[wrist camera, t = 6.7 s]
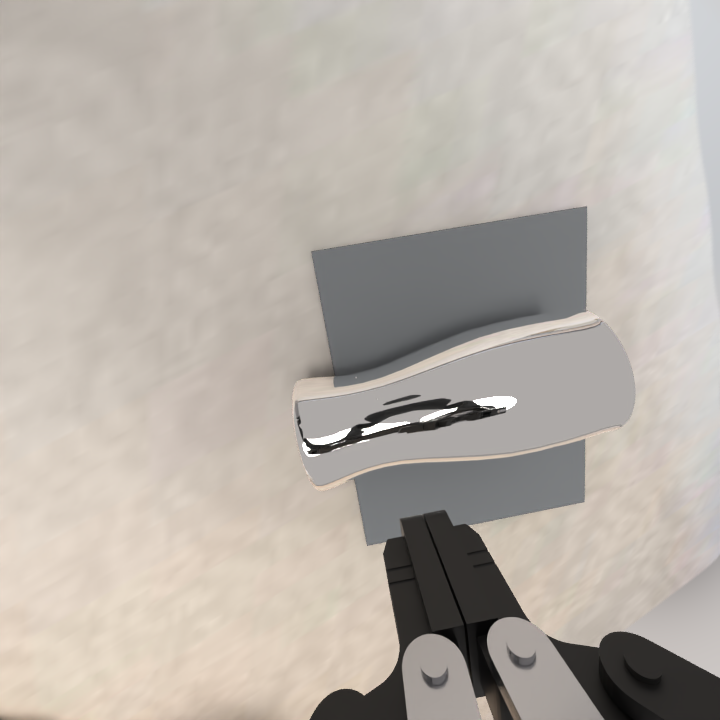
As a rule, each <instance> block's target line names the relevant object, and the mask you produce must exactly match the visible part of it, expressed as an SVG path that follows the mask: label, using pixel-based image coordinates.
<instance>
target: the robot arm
mask: <svg viewBox="0 0 720 720" xmlns="http://www.w3.org/2000/svg"><path fill="white" fill-rule="evenodd" d="M400 527H401V534H402V536H401V537H396V538H391V539H387V542H386V546H385V550H384V553H383V555H384V561H385V567H386V572H387V578H388V584H389V590H390V595H391V601H392V606H393V612H394V617H395V622H396V628H397V633H398V639H399V644H400V652H399V658H398V661H397V664H396V666H395V668H394V670H393V672H392V673H391V675H390V676H389V677H388V678H387V679H386V680H385V681H384V682H383V683H382V684H381V685H379V686H378V687H376V688H375V689H373V690H372V691H370V692H369V693H368V694H366V695H365V696H364V695H362V694H361V693H359V692H358V691H355V690H352V689H341V690H337V691H335V692H333V693H331V694H329V695H328V696H327V697H326V698H324V699H323V700H322V702H321V703H320V704H319V705H318V707H317V708H316V710H315V711H314V713H313V715H312V716H311V718H310V720H482V719H481V715H480V712H479V708H478V704H477V701H476V698H478V697H482V696H486V699H487V702H488V704H489V707H490V710H491V713H492V715H493V718H494V720H720V678H719V677H716V676H715V675H713V674H711V673H709V672H707V671H706V670H704V669H702V668H699V667H698V666H696V665H694V664H692V663H690V662H689V661H687V660H685V659H683V658H681V657H679V656H677V655H676V654H674V653H672V652H670V651H668V650H666V649H664V648H663V647H661V646H659V645H657V644H655V643H653V642H651V641H649V640H647V639H645V638H643V637H641V636H638V635H636V634H632V633H628V632H613V633H610V634H608V635H606V636H605V637H604V638H603V639H602V641H601V643H600V647H599V648H597V647H590V646H583V645H577V644H570V643H565V642H561V641H558V640H556V639H554V638H551V637H549V636H548V635H546V634H545V633H544V632H543V631H542V630H541V629H539V628H538V627H537V626H536V625H534V624H532V623H531V622H530V621H529V619H528V618H527V617H526V615H525V614H524V612H523V610H522V609H521V607H520V605H519V604H518V602H517V600H516V598H515V597H514V595H513V593H512V591H511V590H510V588H509V586H508V584H507V583H506V581H505V579H504V577H503V576H502V574H501V572H500V570H499V569H498V567H497V565H495V562H494V560H493V558H492V556H491V555H490V553H489V552H488V550H487V548H486V546H485V544H484V542H483V541H482V539H481V537H480V535H479V534H478V533H476V532H475V531H474V530H473V529H472V528H470V527H469V526H468V525H467V524H461V525H456V526H453V524H452V522H451V520H450V518H449V516H448V514H447V512H446V511H445V510H439V511H434V512H429V513H424V514H423V515H421V514H420V515H414V516H409V517H404V518H400Z"/></svg>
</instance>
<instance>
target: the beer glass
mask: <svg viewBox="0 0 720 720" xmlns="http://www.w3.org/2000/svg"><path fill="white" fill-rule="evenodd" d="M634 404H635V382H634V376H633V371H632V368H631V365H630V362H629V359H628V356H627V354H626V352H625V350H624V348H623V346H622V344H621V342H620V341H619V339H618V337H617V336H616V335H615V333H614V332H613V331H612V329H611V328H610V327H609V326H608V325H607V324H606V323H605V322H604V321H603V320H602V319H601V318H600V317H598V316H597V315H595V314H594V313H592V312H590V311H588V310H585V309H582V308H569V309H566V310H562V311H556V312H550V313H544V314H537V315H531V316H526V317H520V318H515V319H510V320H505V321H501V322H496V323H492V324H488V325H485V326H481V327H477V328H474V329H470V330H467V331H464V332H461V333H459V334H456V335H453V336H451V337H448V338H445V339H443V340H440V341H438V342H436V343H433V344H431V345H429V346H426V347H424V348H422V349H419V350H417V351H415V352H413V353H410V354H408V355H406V356H404V357H401V358H399V359H397V360H394V361H392V362H389V363H387V364H384V365H382V366H379V367H376V368H373V369H370V370H367V371H363V372H359V373H354V374H349V375H341V376H329V377H313V378H304V379H300V380H298V381H297V382H296V384H295V386H294V389H293V394H292V415H293V425H294V432H295V437H296V442H297V446H298V451H299V454H300V458H301V461H302V464H303V467H304V470H305V472H306V474H307V477H308V479H309V480H310V482H311V484H312V485H313V487H314V488H315V489H317V490H318V491H326V490H329V489H332V488H334V487H337V486H339V485H341V484H344V483H346V482H348V481H351V480H353V479H355V478H357V477H360V476H363V475H365V474H368V473H371V472H374V471H378V470H382V469H386V468H392V467H398V466H405V465H419V464H438V463H460V462H478V461H488V460H498V459H507V458H512V457H518V456H523V455H528V454H533V453H537V452H541V451H545V450H549V449H553V448H557V447H560V446H564V445H567V444H570V443H573V442H577V441H580V440H583V439H586V438H589V437H592V436H595V435H598V434H601V433H605V432H608V431H614V430H617V429H619V428H621V427H623V426H624V425H625V424H626V423H627V421H628V420H629V418H630V417H631V414H632V412H633V409H634Z"/></svg>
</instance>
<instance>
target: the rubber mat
mask: <svg viewBox="0 0 720 720" xmlns="http://www.w3.org/2000/svg"><path fill="white" fill-rule="evenodd" d="M312 258H313V263H314V268H315V273H316V279H317V284H318V289H319V295H320V300H321V305H322V310H323V316H324V321H325V326H326V331H327V337H328V342H329V347H330V352H331V358H332V363H333V368H334V374H335V376H341V375H349V374H354V373H359V372H363V371H367V370H370V369H373V368H376V367H379V366H382V365H384V364H387V363H389V362H392V361H394V360H397V359H399V358H401V357H404V356H406V355H408V354H410V353H413V352H415V351H417V350H419V349H422V348H424V347H426V346H429V345H431V344H433V343H436V342H438V341H440V340H443V339H445V338H448V337H451V336H453V335H456V334H459V333H461V332H464V331H467V330H470V329H474V328H477V327H481V326H485V325H488V324H492V323H496V322H501V321H505V320H510V319H515V318H520V317H526V316H531V315H537V314H544V313H550V312H556V311H562V310H566V309H569V308H582V309H585V310H586V263H587V206H586V207H580V208H574V209H568V210H561V211H555V212H549V213H543V214H537V215H531V216H525V217H519V218H513V219H507V220H501V221H495V222H488V223H482V224H476V225H470V226H464V227H458V228H452V229H446V230H440V231H434V232H428V233H421V234H415V235H409V236H403V237H397V238H391V239H385V240H379V241H373V242H367V243H361V244H355V245H348V246H342V247H336V248H330V249H324V250H318V251H312ZM355 484H356V489H357V495H358V500H359V505H360V510H361V516H362V521H363V526H364V532H365V537H366V542H367V546H368V545H373V544H378V543H383V542H387V539H391V538H396V537H401V536H402V534H401V527H400V518H404V517H409V516H414V515H420V514H421V515H423V514H424V513H429V512H434V511H439V510H445V511H446V512H447V514H448V516H449V518H450V520H451V522H452V524H453V526H456V525H461V524H467V525H473V524H478V523H483V522H488V521H493V520H498V519H503V518H508V517H513V516H517V515H522V514H527V513H532V512H537V511H542V510H547V509H552V508H557V507H562V506H567V505H572V504H577V503H582V502H584V500H585V439H583V440H580V441H577V442H573V443H570V444H567V445H564V446H560V447H557V448H553V449H549V450H545V451H541V452H537V453H533V454H528V455H523V456H518V457H512V458H507V459H498V460H488V461H478V462H460V463H438V464H419V465H405V466H398V467H392V468H386V469H382V470H378V471H374V472H371V473H368V474H365V475H363V476H360V477H357V478H355Z"/></svg>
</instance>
